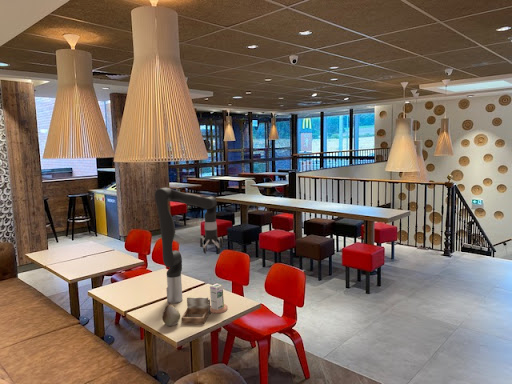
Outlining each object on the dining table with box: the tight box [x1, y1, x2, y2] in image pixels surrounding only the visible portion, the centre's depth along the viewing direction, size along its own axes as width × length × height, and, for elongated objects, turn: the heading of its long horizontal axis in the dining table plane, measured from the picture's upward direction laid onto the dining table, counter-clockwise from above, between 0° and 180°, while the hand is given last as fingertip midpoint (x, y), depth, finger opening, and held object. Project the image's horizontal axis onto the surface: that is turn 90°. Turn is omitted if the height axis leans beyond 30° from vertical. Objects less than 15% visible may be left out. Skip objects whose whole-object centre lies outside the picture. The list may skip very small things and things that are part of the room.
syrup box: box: [209, 282, 225, 310], centre depth 236 cm, size 6×6×14 cm
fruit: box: [161, 302, 181, 327], centre depth 218 cm, size 10×9×12 cm
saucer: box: [210, 303, 229, 314], centre depth 237 cm, size 12×12×1 cm
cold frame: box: [180, 296, 212, 325], centre depth 225 cm, size 14×14×10 cm
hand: (212, 253), depth 242 cm, fingers open, 8 cm apart
